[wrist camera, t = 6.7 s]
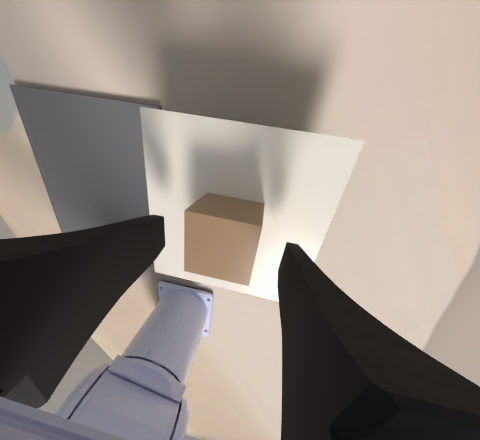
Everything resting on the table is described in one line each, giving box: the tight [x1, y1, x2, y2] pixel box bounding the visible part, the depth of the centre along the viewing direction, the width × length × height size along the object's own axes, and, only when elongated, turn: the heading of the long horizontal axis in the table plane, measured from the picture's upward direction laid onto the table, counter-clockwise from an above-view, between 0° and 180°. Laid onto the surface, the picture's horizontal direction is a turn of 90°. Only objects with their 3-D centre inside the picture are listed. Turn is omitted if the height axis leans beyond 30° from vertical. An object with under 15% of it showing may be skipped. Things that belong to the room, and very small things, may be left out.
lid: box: [140, 107, 365, 301], centre depth 11 cm, size 13×13×4 cm
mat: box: [10, 85, 162, 264], centre depth 20 cm, size 18×15×1 cm
